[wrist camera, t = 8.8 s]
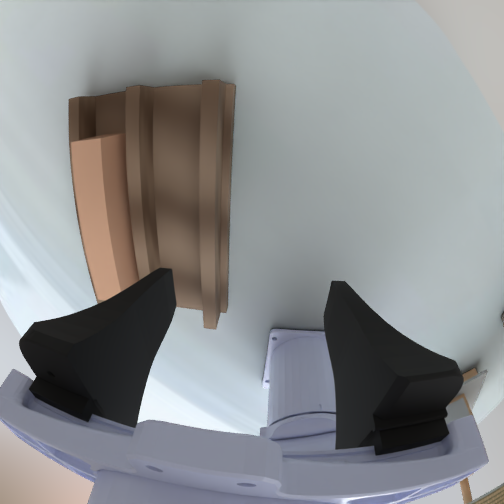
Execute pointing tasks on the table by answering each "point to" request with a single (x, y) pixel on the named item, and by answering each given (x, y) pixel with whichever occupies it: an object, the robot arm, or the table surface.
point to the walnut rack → (173, 181)
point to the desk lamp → (499, 499)
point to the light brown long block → (105, 212)
